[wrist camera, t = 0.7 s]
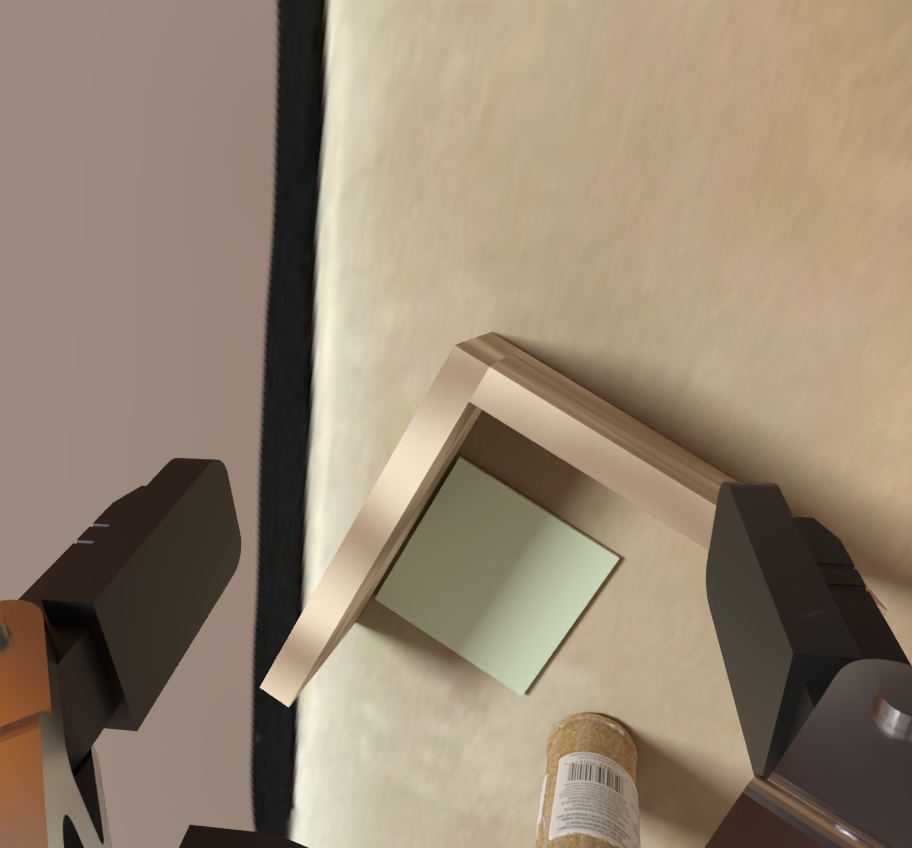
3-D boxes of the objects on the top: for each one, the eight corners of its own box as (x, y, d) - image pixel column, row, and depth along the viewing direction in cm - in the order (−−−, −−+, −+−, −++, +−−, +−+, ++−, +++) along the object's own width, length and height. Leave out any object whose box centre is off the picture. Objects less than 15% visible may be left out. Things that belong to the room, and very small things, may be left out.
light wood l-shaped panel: (491, 332, 34) (454, 345, 26) (823, 533, 32) (888, 611, 24) (331, 607, 38) (259, 687, 31) (615, 795, 37) (614, 930, 29)
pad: (460, 456, 35) (459, 457, 35) (619, 556, 34) (619, 558, 34) (376, 596, 38) (374, 599, 37) (522, 693, 37) (522, 696, 37)
